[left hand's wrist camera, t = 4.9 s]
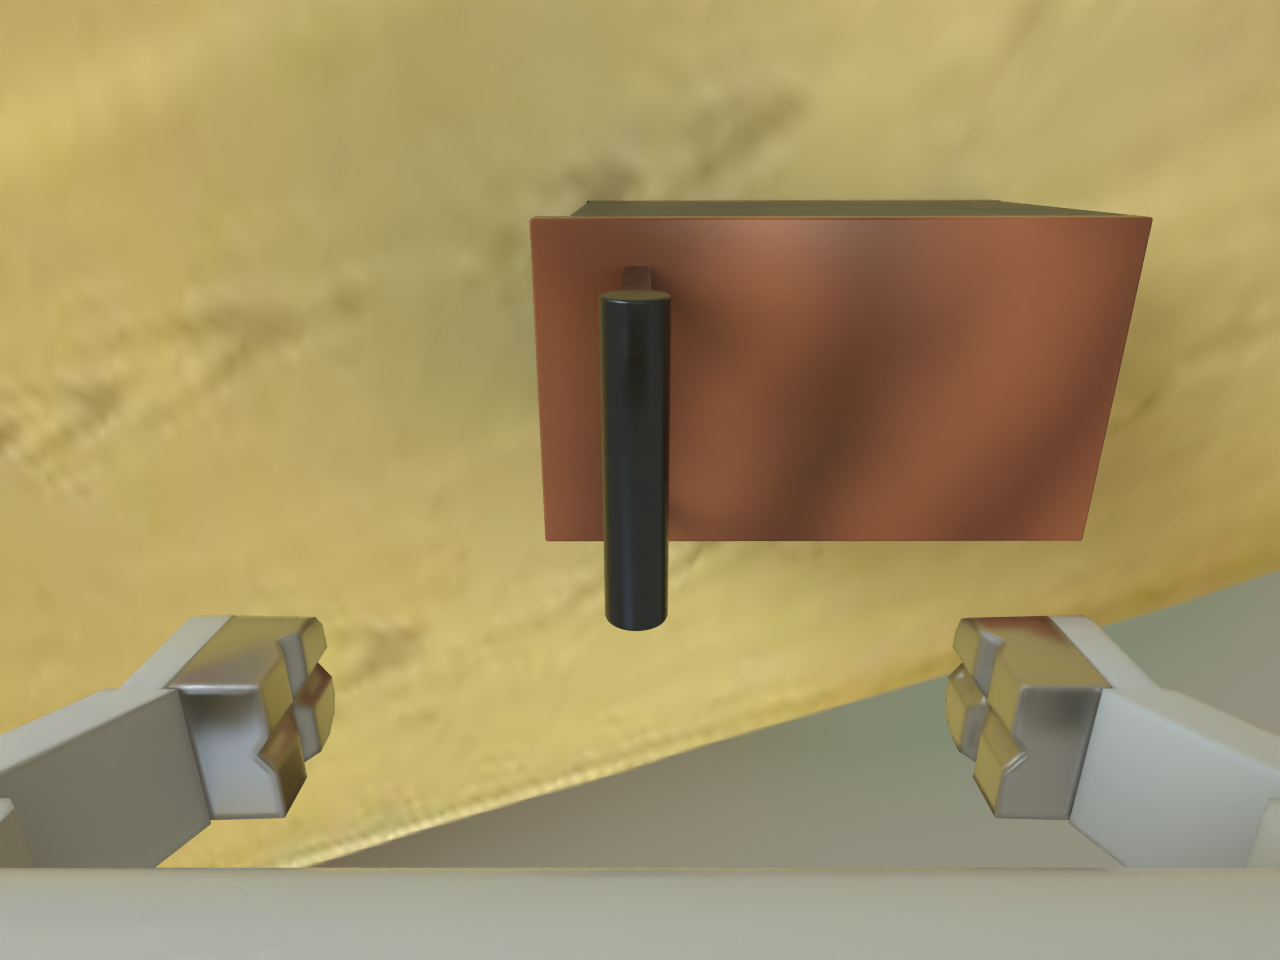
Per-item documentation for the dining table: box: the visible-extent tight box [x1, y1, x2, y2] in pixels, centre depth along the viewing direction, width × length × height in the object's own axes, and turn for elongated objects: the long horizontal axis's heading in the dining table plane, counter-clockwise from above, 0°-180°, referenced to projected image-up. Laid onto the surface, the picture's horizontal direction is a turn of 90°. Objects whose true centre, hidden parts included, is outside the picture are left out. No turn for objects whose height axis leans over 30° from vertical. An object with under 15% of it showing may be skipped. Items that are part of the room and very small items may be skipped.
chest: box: [571, 200, 1125, 216], centre depth 28 cm, size 15×9×10 cm, turn 90°
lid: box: [530, 215, 1153, 631], centre depth 20 cm, size 16×9×8 cm, turn 90°
